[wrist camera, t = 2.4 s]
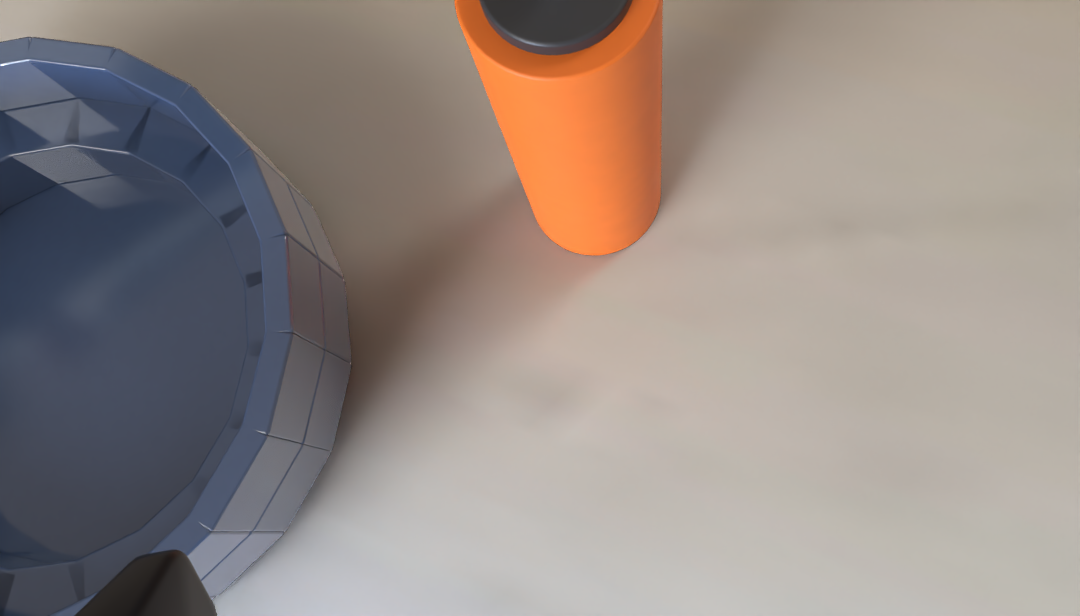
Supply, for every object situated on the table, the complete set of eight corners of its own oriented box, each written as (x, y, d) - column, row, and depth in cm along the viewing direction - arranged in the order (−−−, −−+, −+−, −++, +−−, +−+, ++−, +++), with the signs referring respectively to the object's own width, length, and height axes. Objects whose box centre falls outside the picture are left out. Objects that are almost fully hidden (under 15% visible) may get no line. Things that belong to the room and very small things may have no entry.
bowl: (170, 750, 22) (51, 804, 18) (-236, 472, 25) (-426, 460, 20) (454, 254, 24) (409, 193, 20) (47, 46, 27) (-72, -48, 22)
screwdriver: (623, 278, 23) (581, -28, 11) (508, 221, 24) (338, -131, 11) (683, 166, 24) (713, -257, 11) (569, 113, 24) (472, -344, 12)
